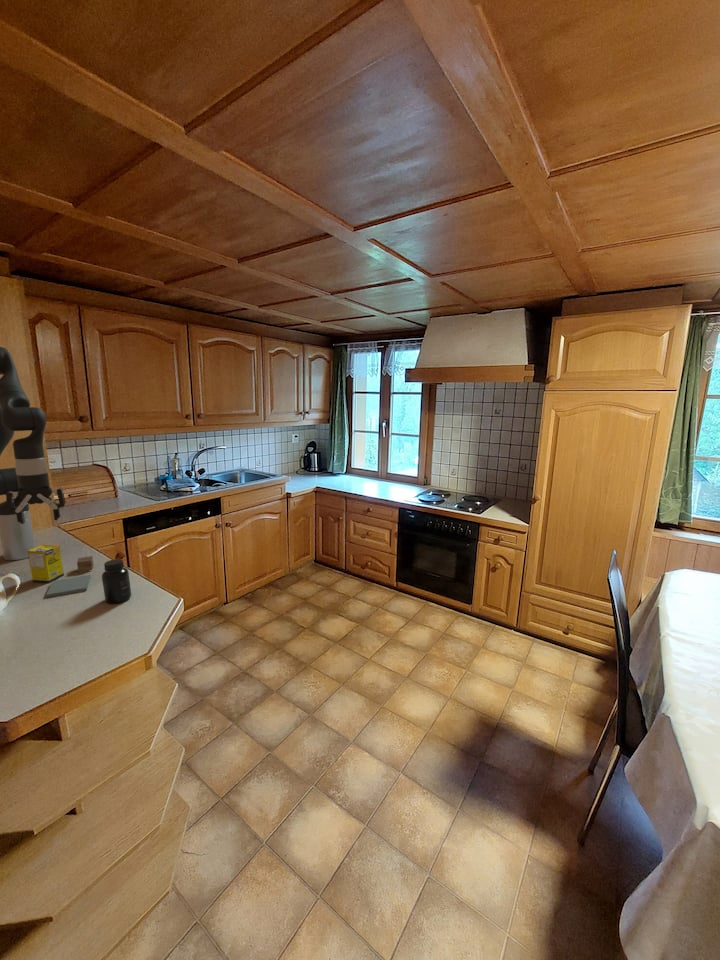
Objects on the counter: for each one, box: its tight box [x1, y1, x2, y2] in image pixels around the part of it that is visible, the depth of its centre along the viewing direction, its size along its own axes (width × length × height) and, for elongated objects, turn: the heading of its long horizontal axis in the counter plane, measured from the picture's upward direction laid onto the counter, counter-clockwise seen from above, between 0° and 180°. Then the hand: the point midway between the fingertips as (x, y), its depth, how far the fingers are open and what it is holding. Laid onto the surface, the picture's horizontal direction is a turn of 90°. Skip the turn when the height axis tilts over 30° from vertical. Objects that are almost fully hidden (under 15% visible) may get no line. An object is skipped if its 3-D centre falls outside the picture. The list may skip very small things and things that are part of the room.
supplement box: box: [28, 543, 65, 584], centre depth 128 cm, size 6×6×11 cm
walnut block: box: [76, 555, 94, 573], centre depth 136 cm, size 4×4×4 cm
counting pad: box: [45, 574, 91, 598], centre depth 124 cm, size 10×10×1 cm
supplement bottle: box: [101, 558, 132, 605], centre depth 117 cm, size 7×7×12 cm
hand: (39, 521), depth 125 cm, fingers open, 8 cm apart
